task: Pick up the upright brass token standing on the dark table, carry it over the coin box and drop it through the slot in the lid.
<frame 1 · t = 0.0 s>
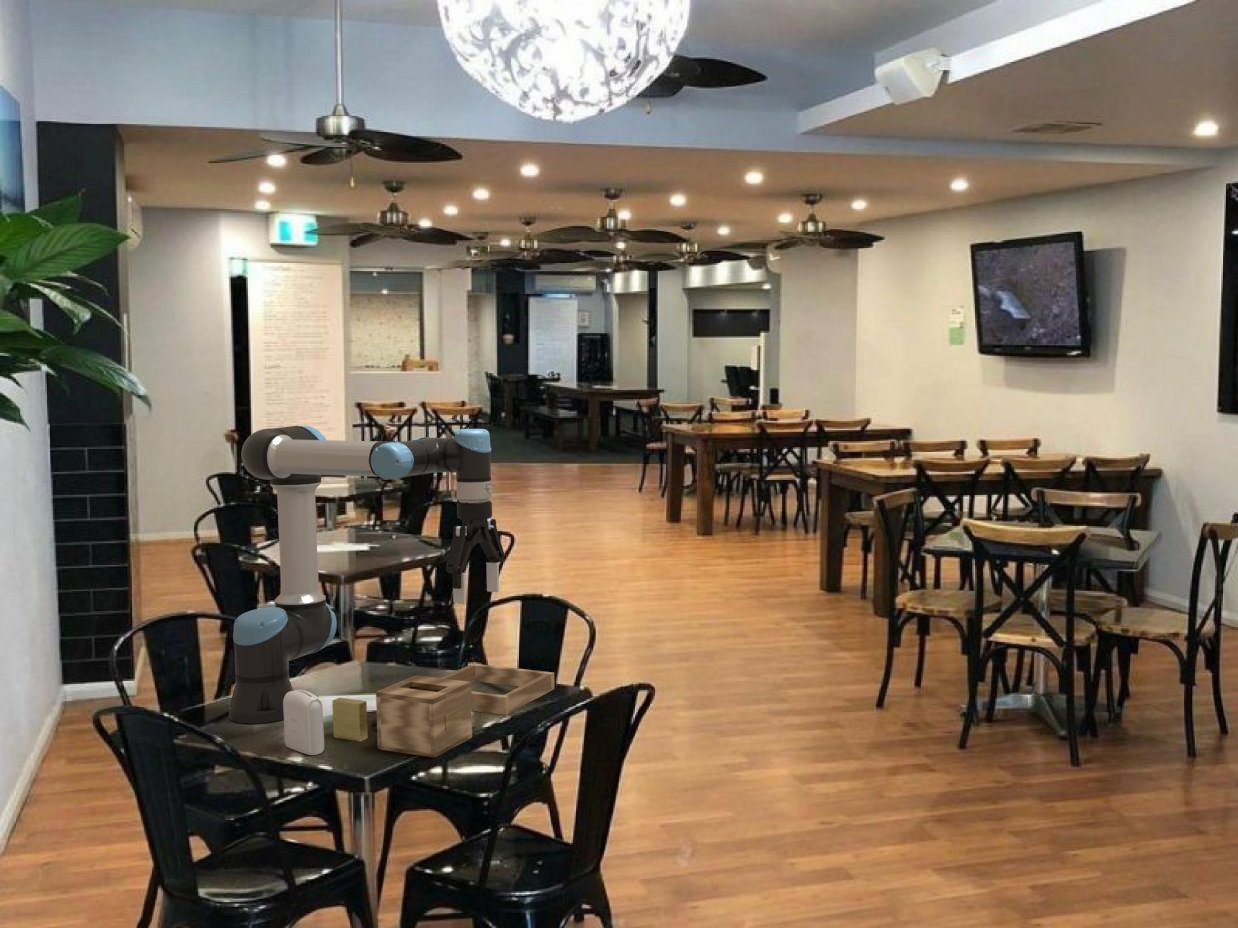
hand: (476, 597, 260), 28 cm above the table, fingers open, 13 cm apart
coin box: (425, 742, 249), on the table
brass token: (350, 737, 253), on the table
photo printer: (304, 750, 246), on the table
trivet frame: (488, 696, 283), on the table
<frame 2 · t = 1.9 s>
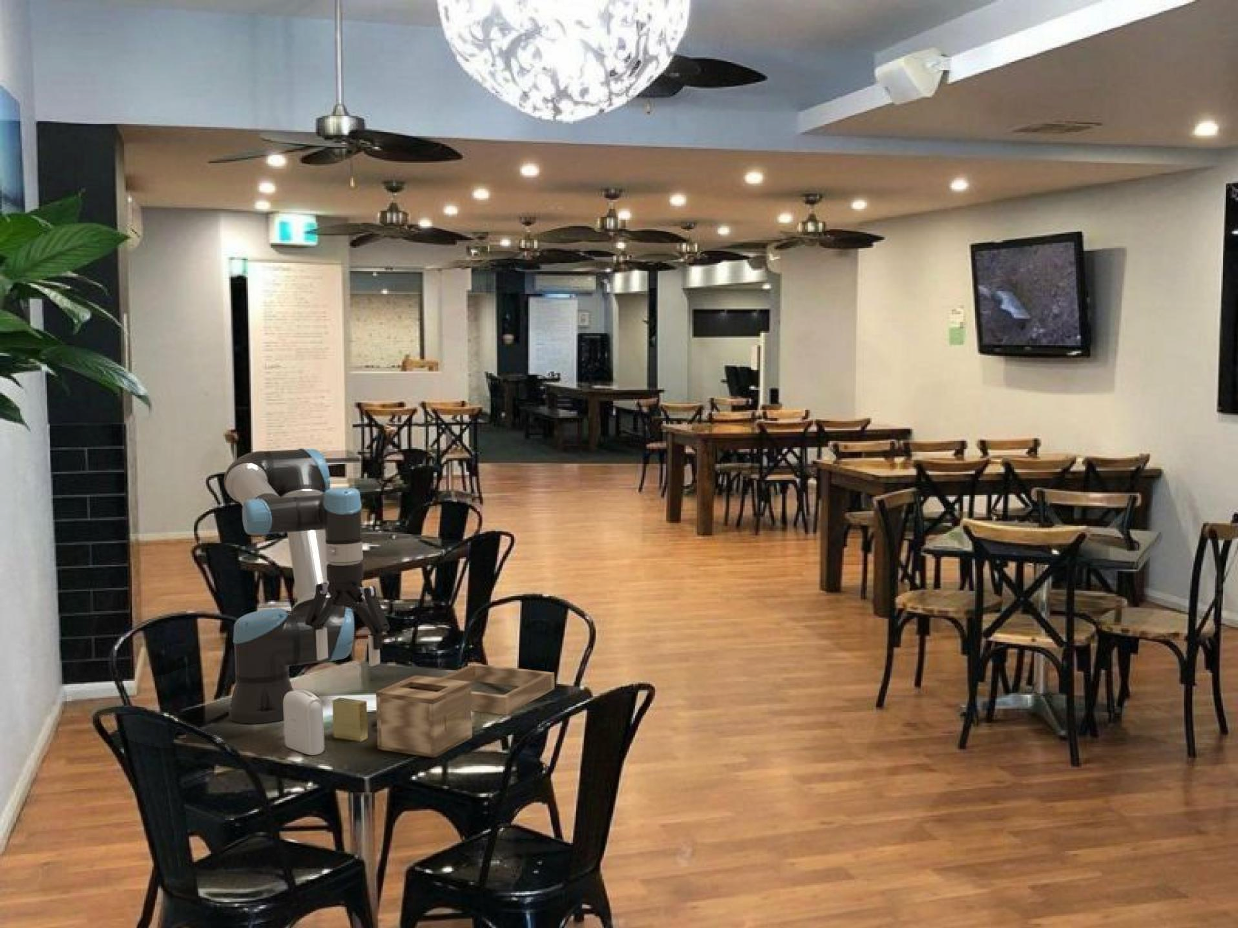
hand: (348, 661, 252), 16 cm above the table, fingers open, 13 cm apart
nothing on the table moved.
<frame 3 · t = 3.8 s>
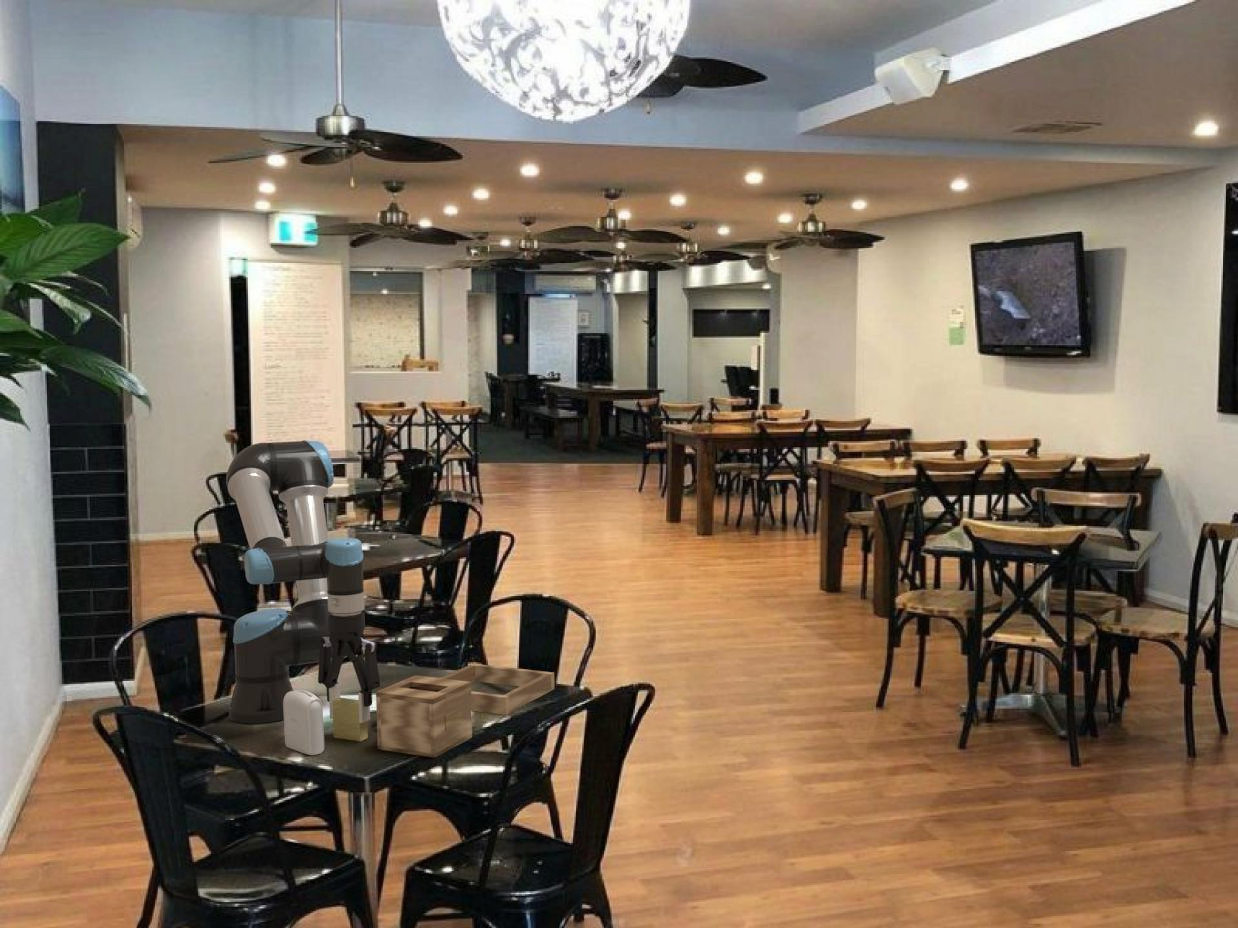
hand: (350, 718, 253), 4 cm above the table, fingers closed on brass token, 7 cm apart
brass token: (350, 737, 253), on the table, touching gripper
everything else where it was.
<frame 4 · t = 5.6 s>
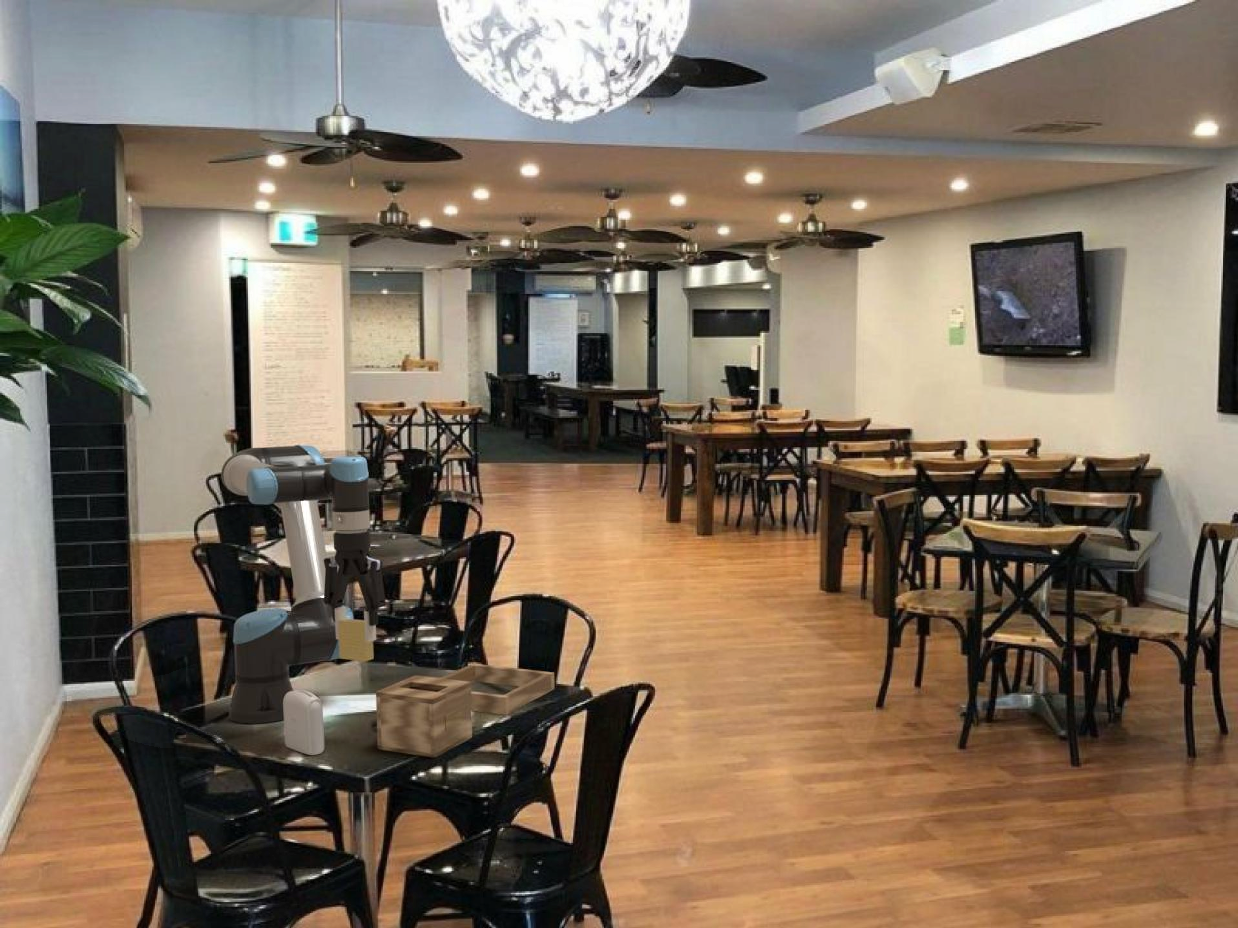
hand: (356, 639, 250), 21 cm above the table, fingers closed on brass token, 7 cm apart
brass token: (356, 658, 251), point 17 cm above the table, touching gripper
everything else where it was.
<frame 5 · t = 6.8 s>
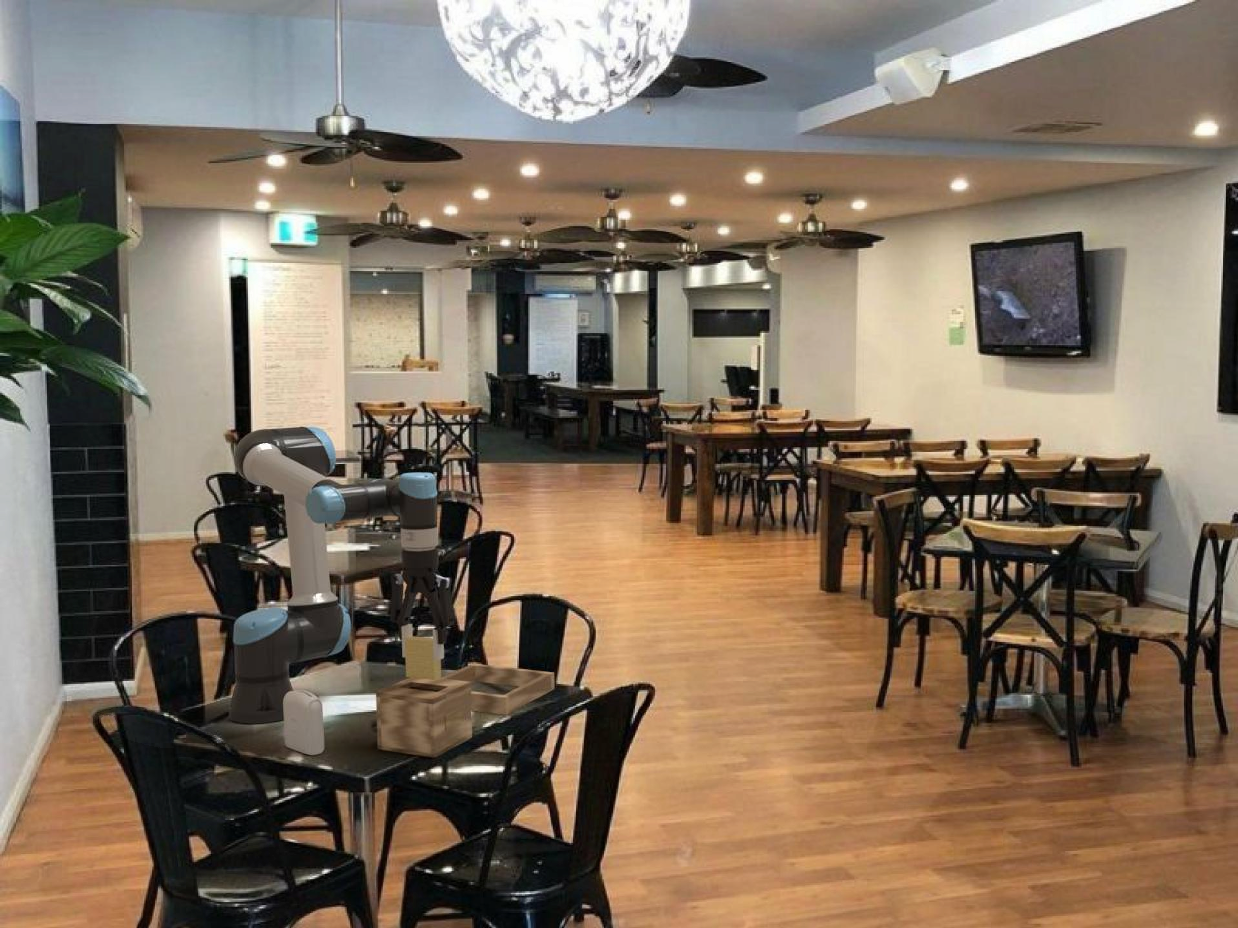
hand: (423, 657, 247), 18 cm above the table, fingers closed on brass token, 7 cm apart
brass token: (423, 676, 247), point 14 cm above the table, touching gripper
everything else where it was.
when the fingers open (18 cm above the table, at t = 7.5 s): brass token drops 13 cm, resting on coin box.
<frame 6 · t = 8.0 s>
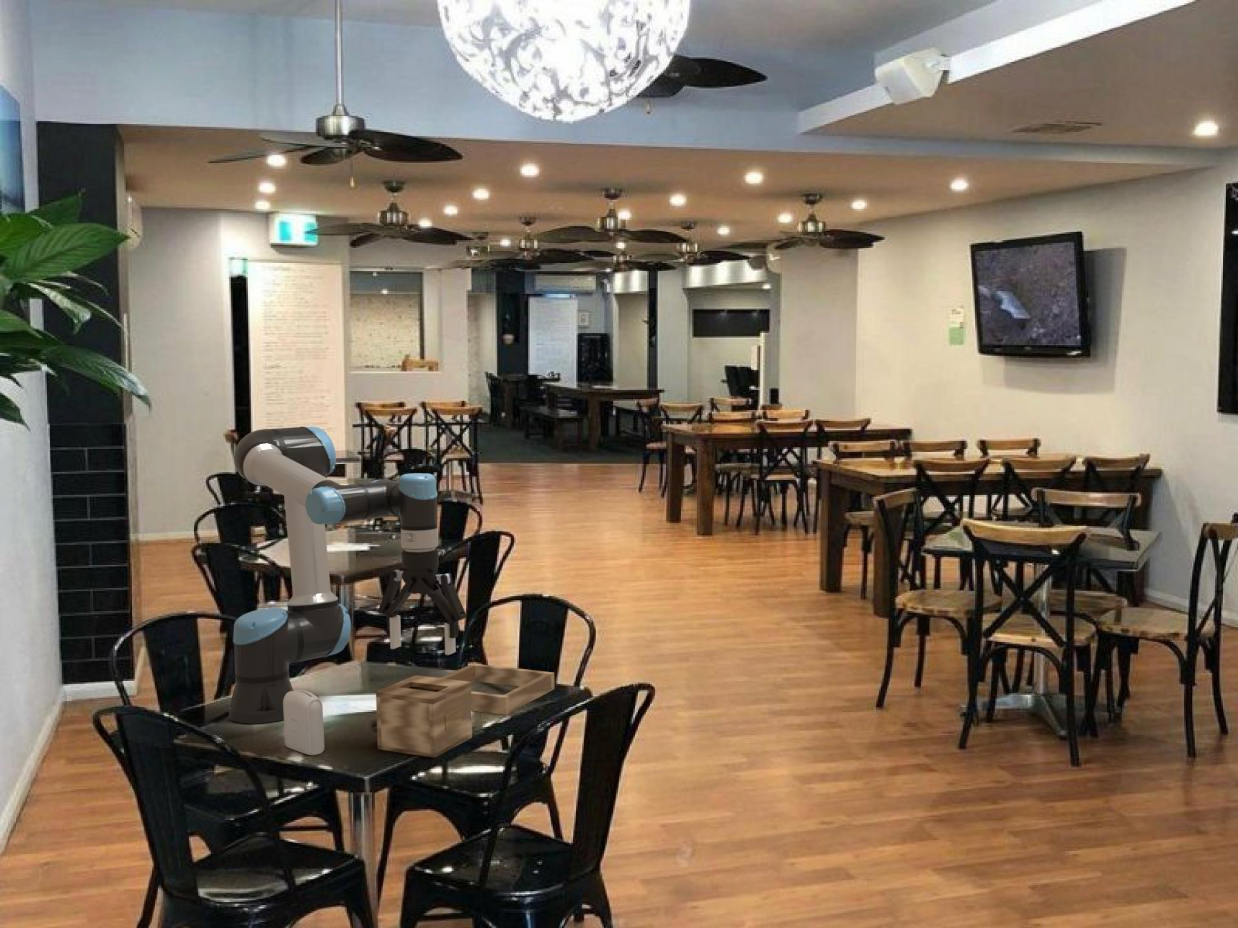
hand: (422, 650, 247), 20 cm above the table, fingers open, 13 cm apart
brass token: (425, 739, 249), point 1 cm above the table, touching coin box
everything else where it was.
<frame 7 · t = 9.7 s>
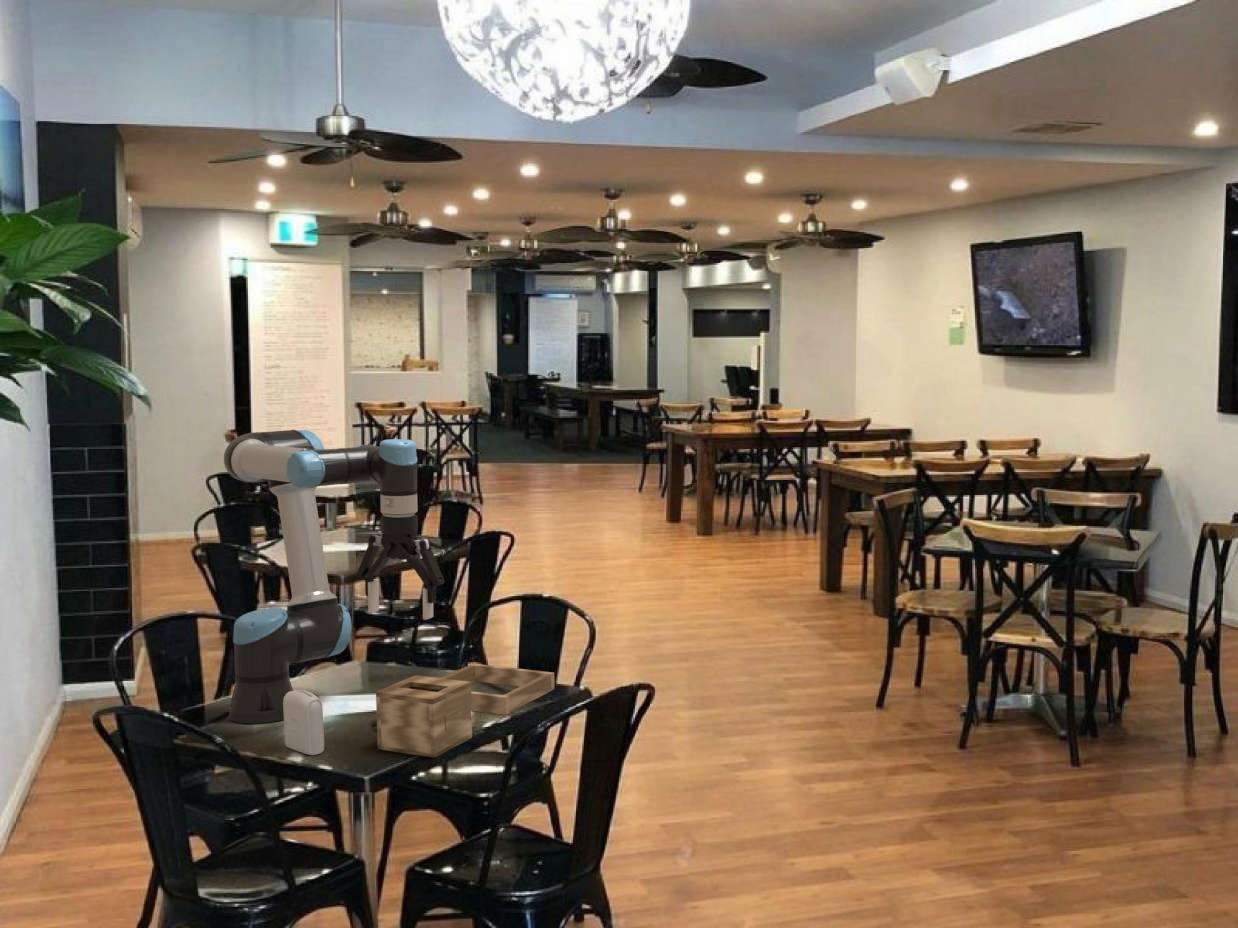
hand: (400, 614, 249), 27 cm above the table, fingers open, 13 cm apart
nothing on the table moved.
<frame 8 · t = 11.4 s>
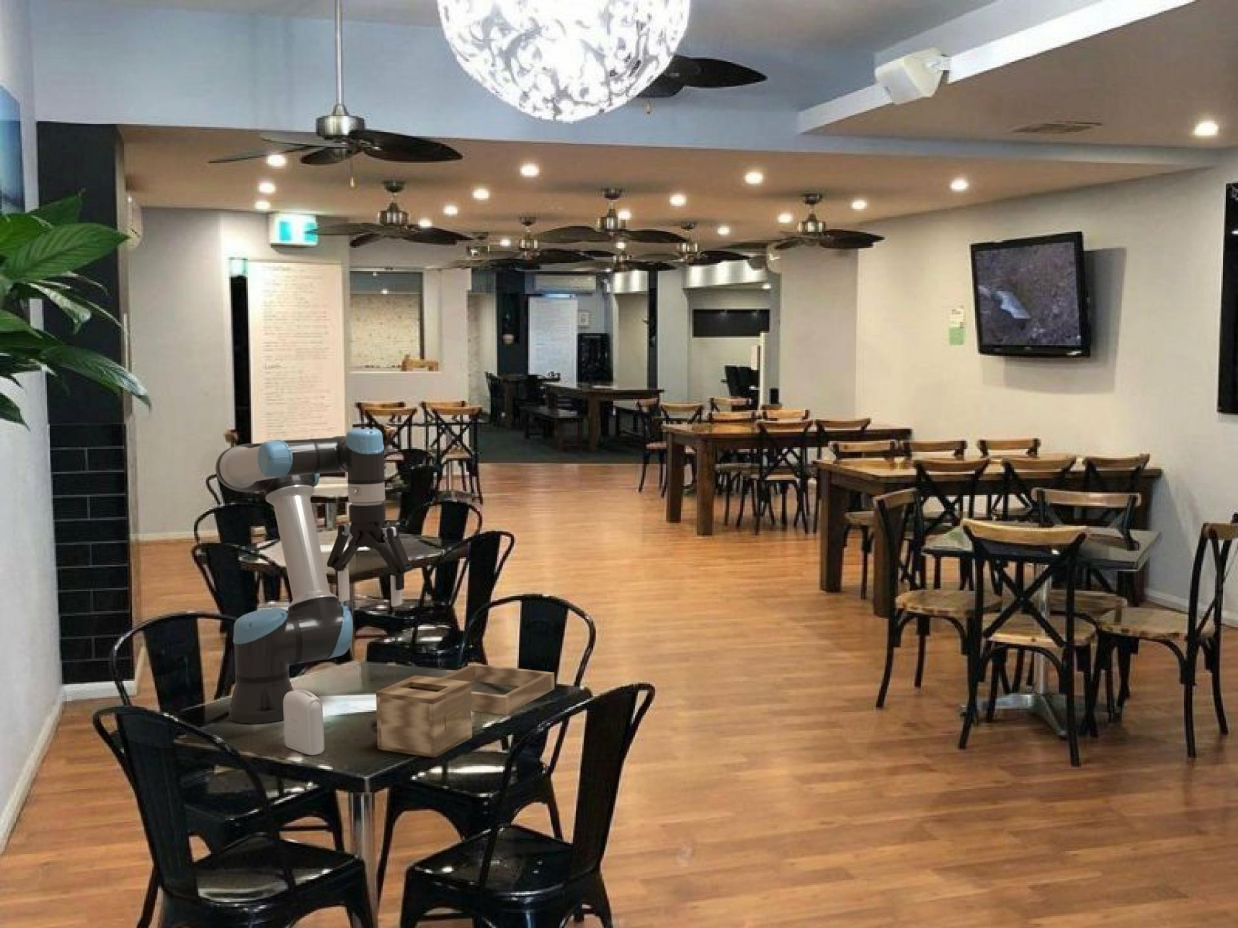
hand: (370, 602, 252), 29 cm above the table, fingers open, 13 cm apart
nothing on the table moved.
at the end: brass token inside the target area on the coin box (0.0 cm from its centre), point 0.8 cm above the coin box's base; the gripper is holding nothing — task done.
